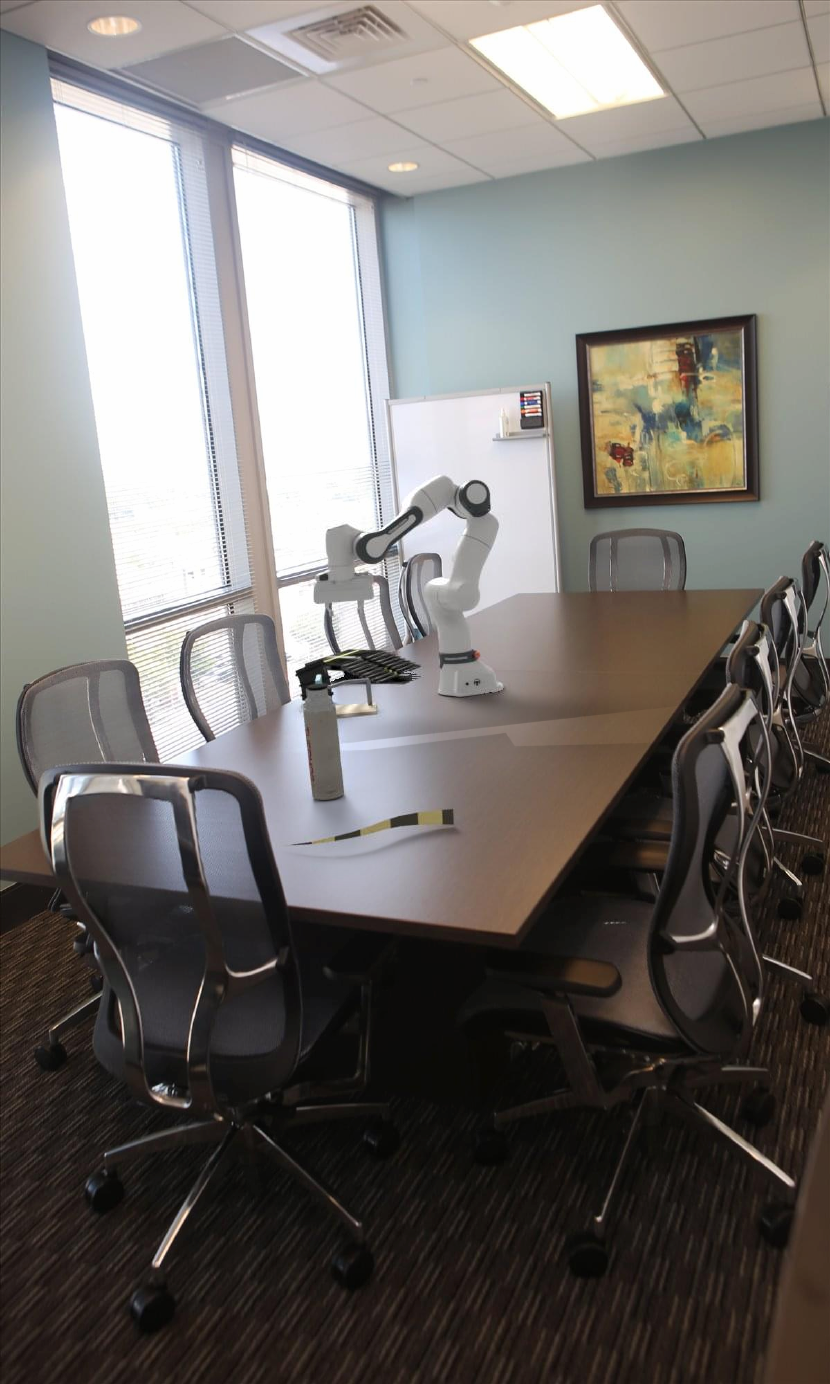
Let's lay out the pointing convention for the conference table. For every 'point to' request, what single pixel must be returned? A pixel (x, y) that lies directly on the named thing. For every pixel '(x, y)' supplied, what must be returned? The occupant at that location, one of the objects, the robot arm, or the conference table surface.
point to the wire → (368, 682)
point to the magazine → (313, 677)
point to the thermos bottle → (323, 744)
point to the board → (355, 710)
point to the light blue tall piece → (318, 679)
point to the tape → (397, 824)
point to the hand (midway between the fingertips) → (345, 614)
